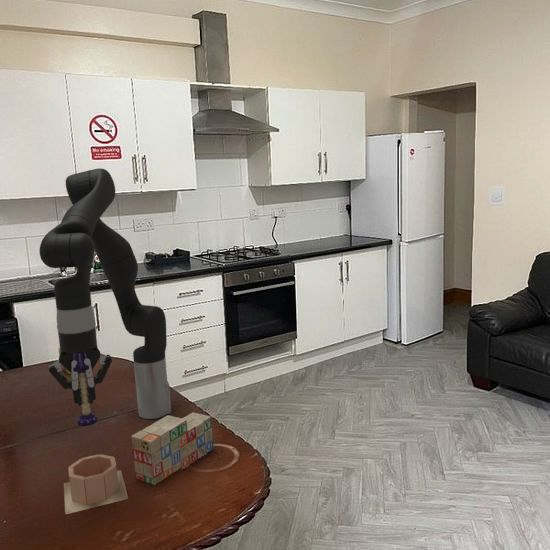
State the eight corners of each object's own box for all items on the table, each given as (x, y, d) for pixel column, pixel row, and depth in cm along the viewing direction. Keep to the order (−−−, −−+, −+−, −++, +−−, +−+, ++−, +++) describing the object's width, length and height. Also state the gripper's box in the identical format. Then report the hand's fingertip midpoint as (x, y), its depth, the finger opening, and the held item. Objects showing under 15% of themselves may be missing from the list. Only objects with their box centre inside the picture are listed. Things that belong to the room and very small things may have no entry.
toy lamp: (90, 428, 119) (83, 354, 116) (70, 426, 120) (63, 353, 117) (101, 418, 123) (95, 346, 120) (82, 417, 124) (75, 346, 121)
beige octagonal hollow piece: (115, 474, 131) (112, 451, 130) (120, 496, 122) (117, 471, 121) (70, 484, 127) (67, 461, 126) (72, 508, 118) (69, 483, 117)
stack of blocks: (195, 444, 147) (192, 400, 145) (214, 449, 143) (211, 405, 141) (135, 483, 129) (130, 435, 127) (154, 491, 126) (150, 441, 124)
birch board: (121, 474, 133) (121, 469, 133) (128, 503, 121) (128, 498, 121) (64, 487, 128) (63, 483, 128) (66, 519, 117) (65, 514, 116)
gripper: (108, 318, 123) (115, 391, 127) (41, 327, 118) (51, 402, 122) (111, 326, 117) (119, 403, 120) (41, 336, 112) (51, 416, 115)
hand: (85, 402), depth 121 cm, fingers closed on toy lamp
